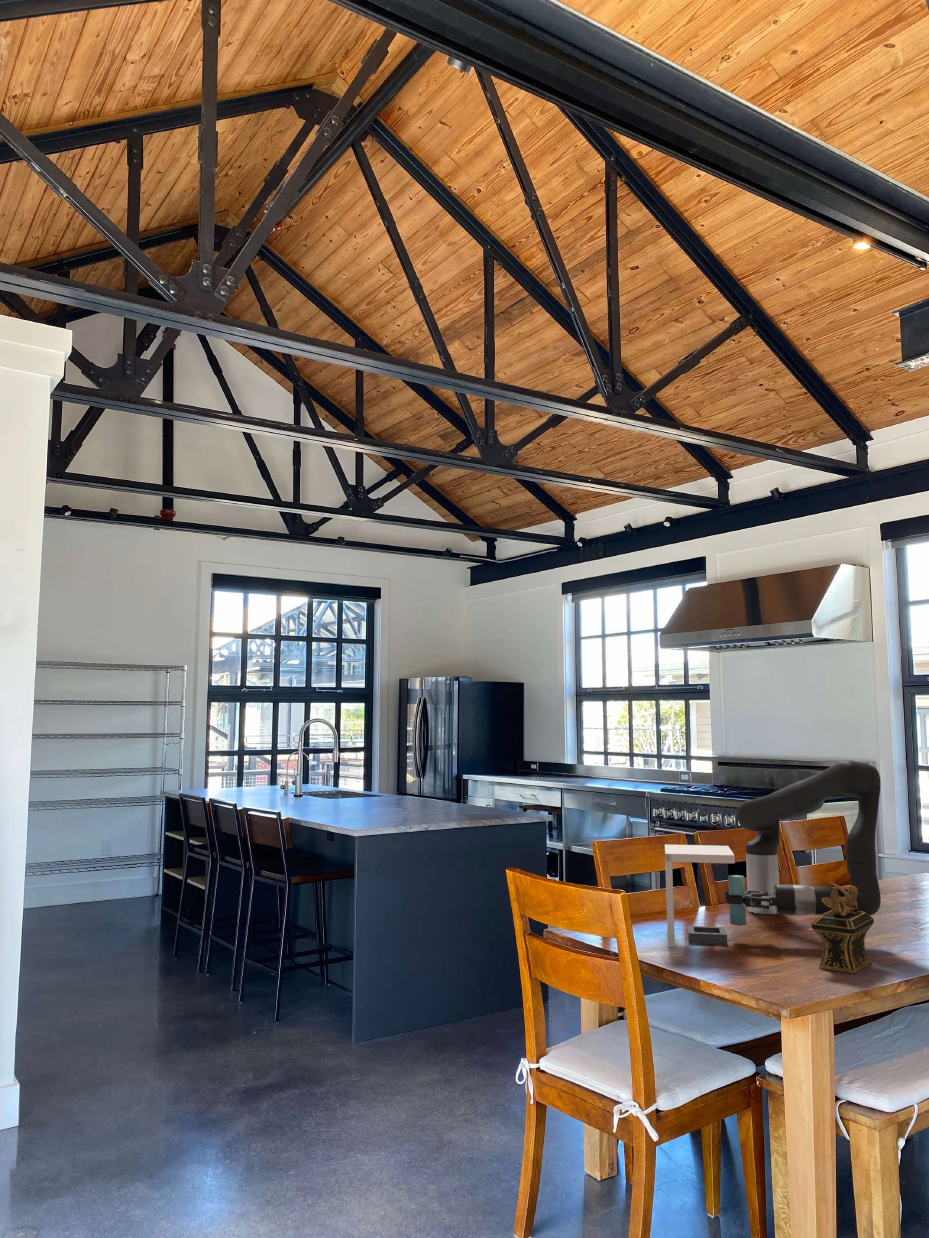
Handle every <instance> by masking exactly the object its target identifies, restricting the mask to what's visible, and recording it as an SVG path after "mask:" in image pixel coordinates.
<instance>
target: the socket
mask: <svg viewBox="0 0 929 1238" xmlns="http://www.w3.org/2000/svg"><path fill="white" fill-rule="evenodd" d="M687 939H689V940H688V944H694V943H697V944H699V945H716V944H721V945H722V946H728V934H727V931H726V928H725V927H724V926H710V925H709V926H707V925H687ZM700 943H702V944H700ZM697 944H696V945H697ZM721 945H720V946H721Z"/></svg>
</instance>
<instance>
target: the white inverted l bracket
mask: <svg viewBox="0 0 929 1238" xmlns="http://www.w3.org/2000/svg"><path fill="white" fill-rule="evenodd" d="M735 859H736V856H735V854H734V852H733V850H732V849H731V848H730V847H729V845H709V844H708V845H707V844H705V845H704V844H703V845H702V844H668V843H667V844H664V864H665V865H664V867H665V869H664V870H665V890H666V891H665V895H666V896H665V897H666V922H667V923H666V924H667V945H668V948H675V947H676V944H675V943H676V941H675V940H676V939H675V938H676V937H675V936H676V935H675V913H674V912H675V910H674V907H675V905H674V886H673V885H674V881H673V880H674V879H673V863H704V864H705V863H707V864H709V863H710V864H735V862H736V860H735Z"/></svg>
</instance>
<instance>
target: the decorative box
mask: <svg viewBox="0 0 929 1238" xmlns="http://www.w3.org/2000/svg"><path fill="white" fill-rule="evenodd" d="M826 877H827V878H826V879H827V882H828V883H829V884H830V885H832V886H833V888H834V889H833V891H832V893H831V899H830V898H828V897H825V898H822V901H823V903H824V904H825V905H826V906H828V907H830V908H831V909H832V910H831V911H829V912H826V913H824V914H822V915H818V916H817V917H816V918H815V920H813V921H812V922H811V923H810V924H811V925H810V926H811V929H812V930H813V931H814V932H815V933H816V935H818V936H819V938H820V940H821V941H822V944H823V955H822V957H821V959H820V962H819V965H818V968H820V969H822V970H825V969H826V971H831V970H832V971H831V972H837V971H838V972H837V973H844V974H849V975H850V974H852V975H853V974H857V973H858V972H860V971H861V970H863V969H864V968H867V966H869V965H870V964H872V960H871V959H870V956H869V955H868V953H867V951H866V946H865V940H866V939H865V938H866V936H867V933H868V931H869V930H870V928H872V926H873V925H874V922H875V920H874V919H875V918H874V917H873V916H872V915H871V916H870V915H868V914H867V913H865V912H863V911H858V907H857V902H856V897H857V894H858V889H857V887H855V886H851V885H849V887H848V889H849V890H848V892H846V891H845V890H844V889H845V888H843V887H842V886H840V885H839V884H836V883H834V882H832V881H831V879H830V877H829V876H828V875H827V876H826ZM837 889H840V890H841V891H842V892H843V893H844V894H845V896H844V897H840V896H838V893H837ZM839 904H840V905H839ZM853 905H854V908H850V907H852V906H853Z"/></svg>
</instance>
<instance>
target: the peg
mask: <svg viewBox="0 0 929 1238" xmlns="http://www.w3.org/2000/svg"><path fill="white" fill-rule="evenodd" d="M727 878H728V880H727V881H728V892H729V895H741V897H742V895H745V890H746V889H745V876H744V875H736V874H730V875H728V877H727ZM728 905H729V924H730V925H733V926H746V925H747V913H746V912H747V911H746V910H747V909H746V908H747V907H746V906H744V905H742V904H728Z"/></svg>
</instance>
